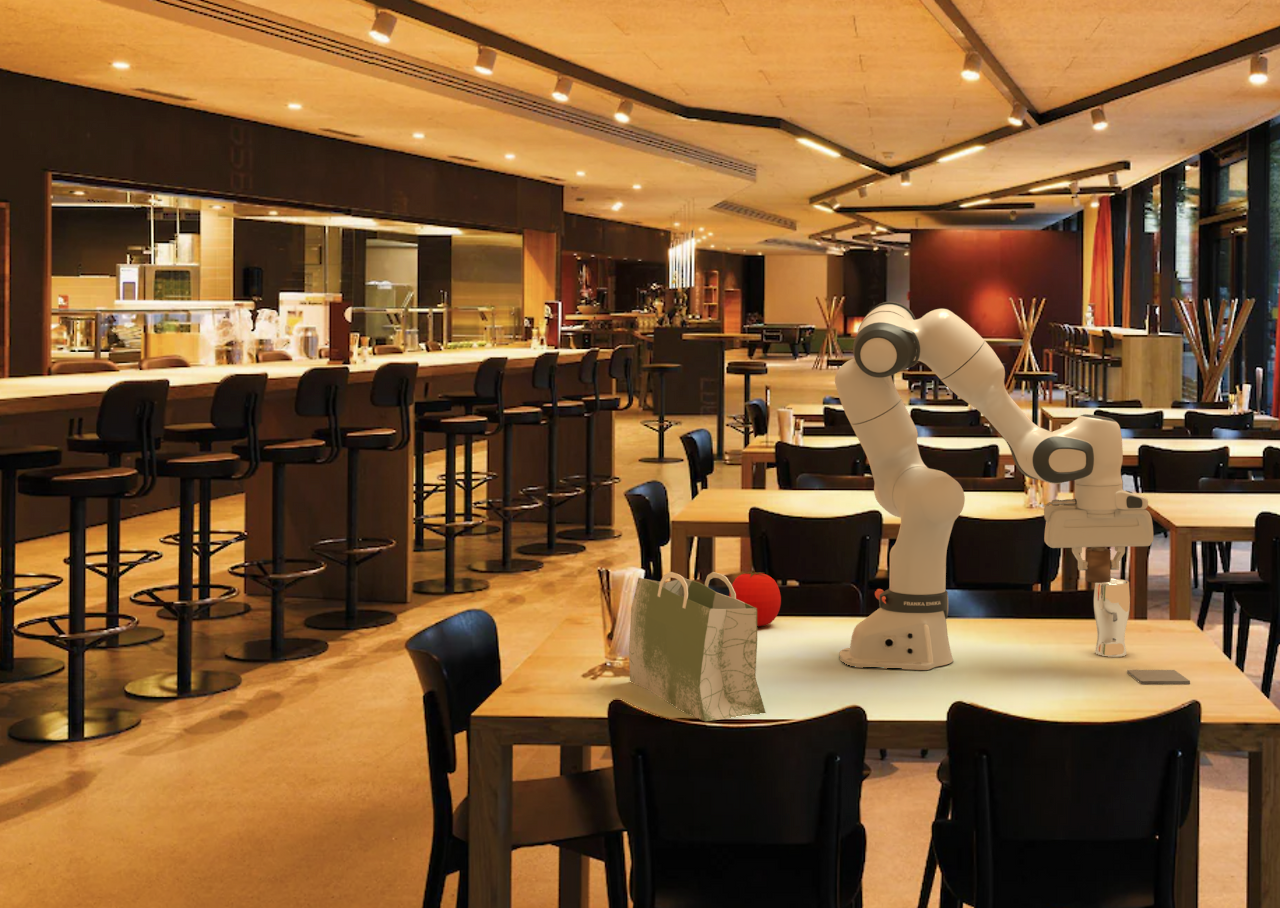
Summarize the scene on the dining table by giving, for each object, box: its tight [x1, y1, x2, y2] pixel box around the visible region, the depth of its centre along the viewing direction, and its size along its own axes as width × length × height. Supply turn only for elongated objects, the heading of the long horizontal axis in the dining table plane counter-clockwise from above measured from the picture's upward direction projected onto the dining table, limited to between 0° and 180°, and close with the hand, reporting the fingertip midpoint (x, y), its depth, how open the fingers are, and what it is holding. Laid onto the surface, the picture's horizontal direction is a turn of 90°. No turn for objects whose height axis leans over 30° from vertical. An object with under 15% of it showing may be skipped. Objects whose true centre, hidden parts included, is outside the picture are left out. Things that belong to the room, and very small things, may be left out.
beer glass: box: [1093, 578, 1131, 658], centre depth 306 cm, size 7×7×15 cm
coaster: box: [1126, 669, 1191, 685], centre depth 286 cm, size 9×9×1 cm
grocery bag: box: [628, 571, 767, 722], centre depth 274 cm, size 32×14×23 cm, turn 24°
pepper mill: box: [1085, 547, 1112, 584], centre depth 292 cm, size 5×5×7 cm
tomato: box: [728, 569, 782, 627], centre depth 337 cm, size 12×12×13 cm
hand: (1098, 569), depth 292 cm, fingers closed on pepper mill, 5 cm apart
